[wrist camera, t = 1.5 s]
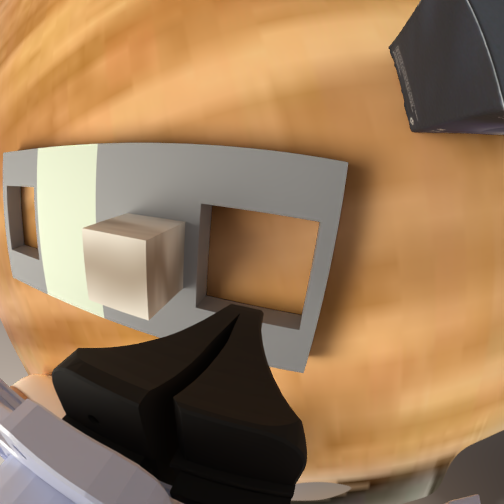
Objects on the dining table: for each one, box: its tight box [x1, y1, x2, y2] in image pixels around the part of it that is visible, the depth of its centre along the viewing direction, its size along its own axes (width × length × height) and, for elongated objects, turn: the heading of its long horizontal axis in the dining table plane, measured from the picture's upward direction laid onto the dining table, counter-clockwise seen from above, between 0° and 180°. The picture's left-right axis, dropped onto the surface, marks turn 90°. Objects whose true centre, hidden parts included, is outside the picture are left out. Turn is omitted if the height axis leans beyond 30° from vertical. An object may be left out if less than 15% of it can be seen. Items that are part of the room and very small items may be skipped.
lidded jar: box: [10, 374, 66, 419], centre depth 28 cm, size 11×11×9 cm
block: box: [82, 213, 185, 320], centre depth 17 cm, size 4×4×4 cm
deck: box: [3, 143, 348, 373], centre depth 20 cm, size 14×32×2 cm, turn 84°
